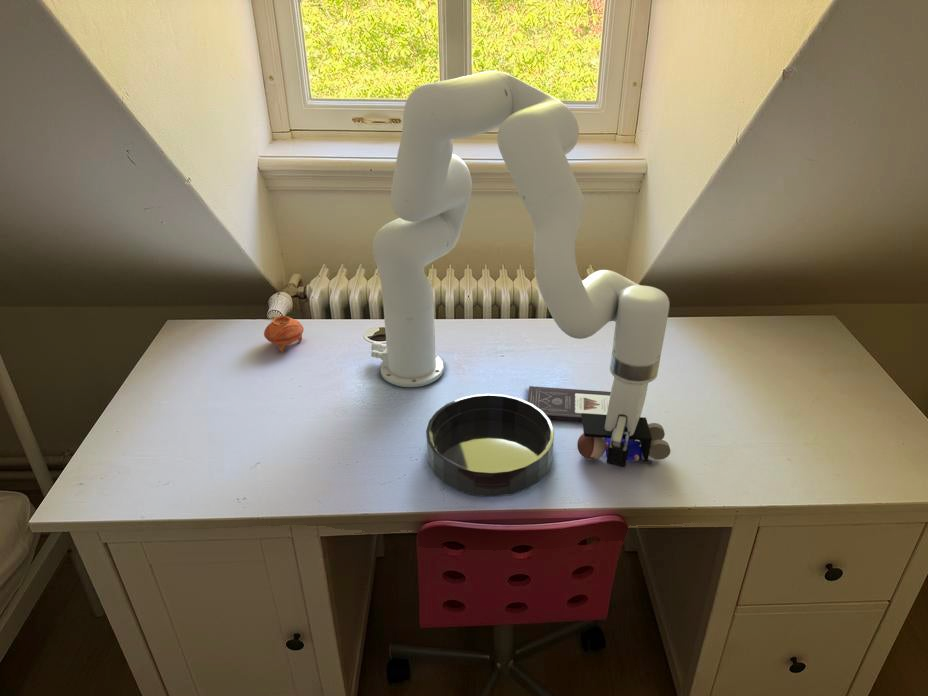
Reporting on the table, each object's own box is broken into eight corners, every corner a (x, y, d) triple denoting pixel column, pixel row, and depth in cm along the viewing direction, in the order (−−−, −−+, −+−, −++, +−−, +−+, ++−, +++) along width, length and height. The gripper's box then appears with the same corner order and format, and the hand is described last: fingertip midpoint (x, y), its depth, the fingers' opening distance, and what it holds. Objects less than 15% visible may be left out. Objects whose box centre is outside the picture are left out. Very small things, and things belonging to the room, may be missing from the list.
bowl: (406, 479, 113) (404, 453, 110) (457, 408, 129) (456, 383, 126) (529, 513, 107) (531, 486, 104) (566, 434, 124) (568, 409, 121)
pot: (304, 353, 143) (292, 325, 139) (269, 360, 144) (255, 333, 140) (312, 332, 149) (300, 306, 145) (278, 339, 150) (265, 313, 146)
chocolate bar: (529, 386, 134) (622, 392, 133) (529, 390, 135) (621, 396, 134) (526, 413, 127) (624, 420, 126) (526, 417, 127) (624, 424, 126)
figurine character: (655, 451, 123) (573, 442, 121) (667, 417, 119) (581, 407, 117) (662, 476, 117) (576, 467, 116) (675, 442, 113) (585, 432, 112)
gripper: (622, 333, 116) (610, 416, 126) (598, 387, 103) (587, 476, 112) (667, 341, 114) (651, 425, 124) (648, 398, 101) (633, 487, 111)
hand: (621, 449), depth 118 cm, fingers closed on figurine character, 7 cm apart
